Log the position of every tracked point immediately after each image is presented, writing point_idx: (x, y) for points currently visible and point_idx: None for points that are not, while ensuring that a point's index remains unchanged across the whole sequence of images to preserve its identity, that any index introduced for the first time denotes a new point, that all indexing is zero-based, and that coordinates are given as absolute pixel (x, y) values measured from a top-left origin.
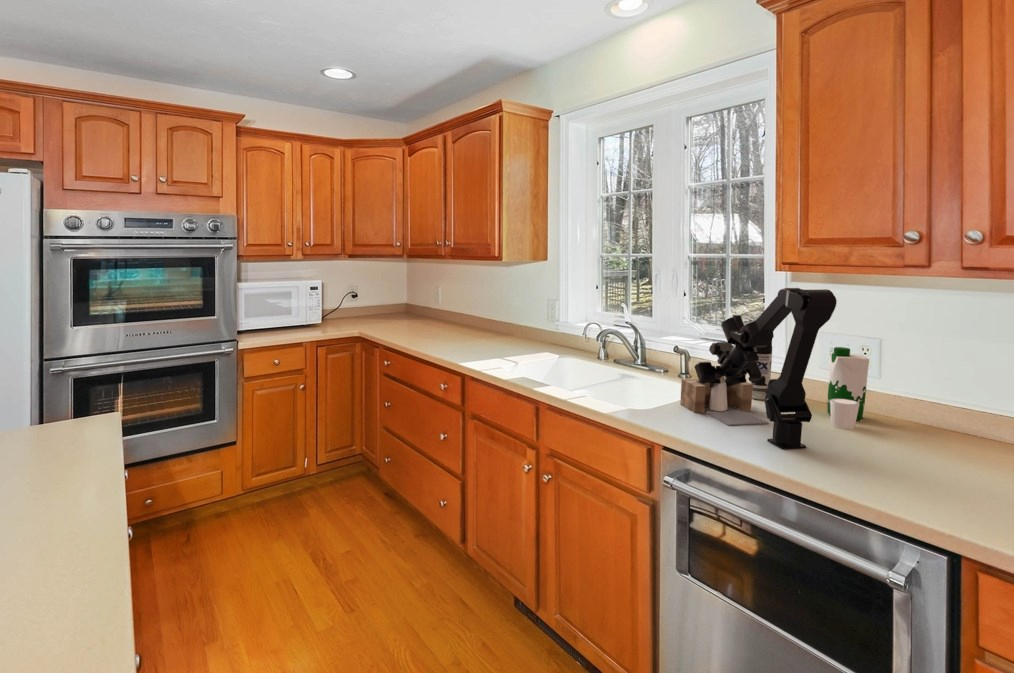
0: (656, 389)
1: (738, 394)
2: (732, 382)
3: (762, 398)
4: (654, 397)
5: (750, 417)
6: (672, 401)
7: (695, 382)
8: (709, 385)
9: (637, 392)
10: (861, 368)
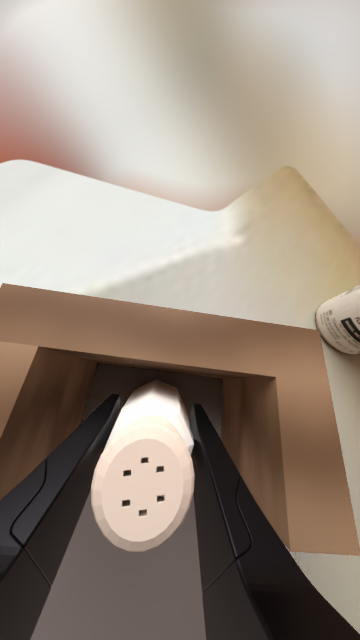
0: (127, 193)
1: (245, 446)
2: (203, 576)
3: (347, 352)
4: (63, 244)
5: (186, 616)
6: (79, 291)
7: (3, 382)
8: (109, 399)
9: (59, 197)
10: None
